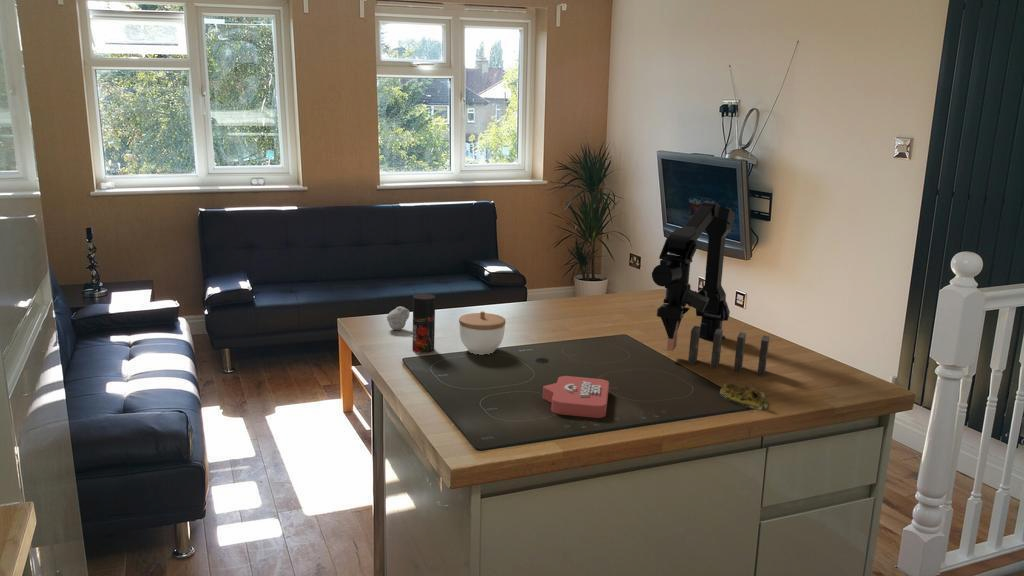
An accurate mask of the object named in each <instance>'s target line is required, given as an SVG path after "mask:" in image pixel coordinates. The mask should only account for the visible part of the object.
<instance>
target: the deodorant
mask: <svg viewBox="0 0 1024 576" xmlns="http://www.w3.org/2000/svg"><path fill="white" fill-rule="evenodd" d="M435 323H436V295H434V294H431V293H418V294H417V293H416V294H414V295H412V352H415V353H418V354H429V353H433V352H434V351H435V334H436V332H435V331H436V330H435V325H436V324H435Z"/></svg>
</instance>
